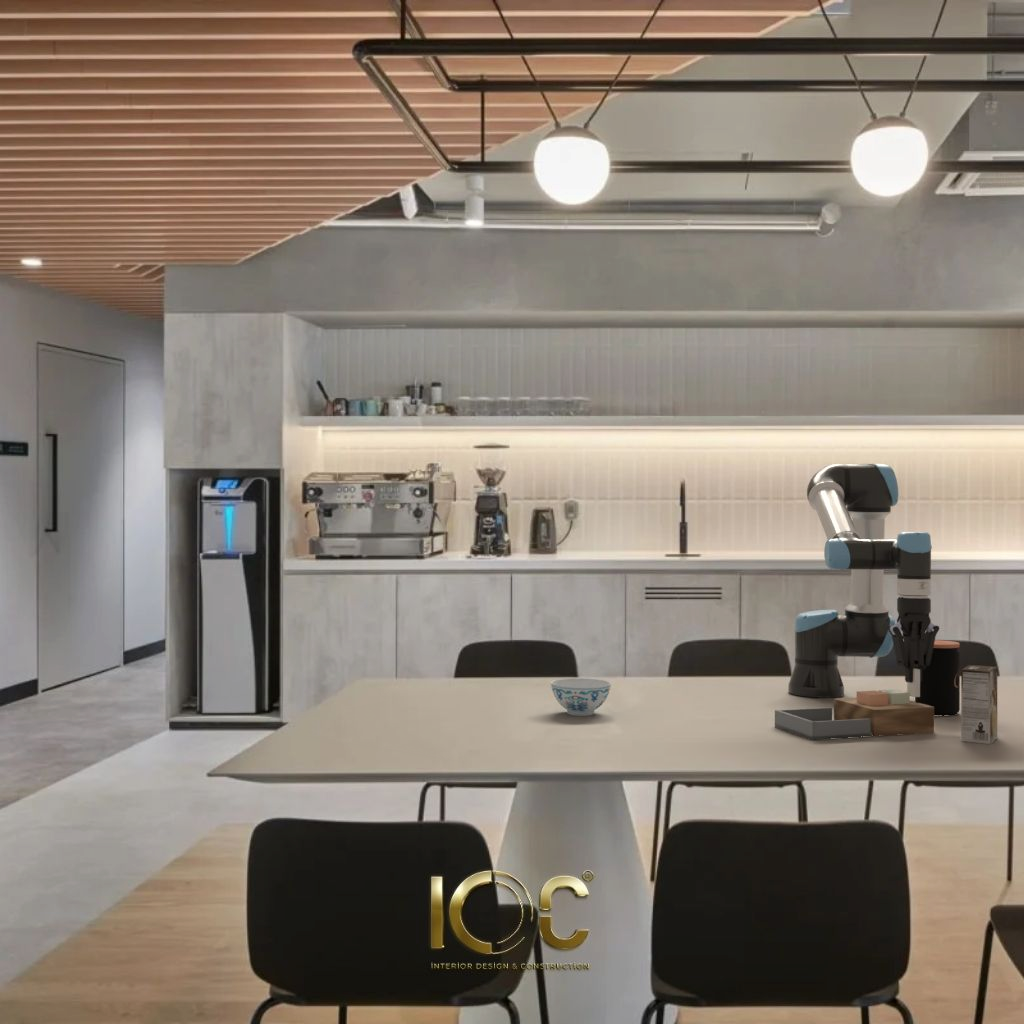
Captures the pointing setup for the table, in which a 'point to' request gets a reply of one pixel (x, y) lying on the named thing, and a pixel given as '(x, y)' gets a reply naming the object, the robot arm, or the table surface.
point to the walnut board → (888, 716)
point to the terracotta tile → (872, 697)
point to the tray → (820, 724)
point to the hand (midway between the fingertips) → (913, 696)
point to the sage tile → (897, 696)
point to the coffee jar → (942, 679)
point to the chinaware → (580, 694)
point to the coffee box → (979, 704)
